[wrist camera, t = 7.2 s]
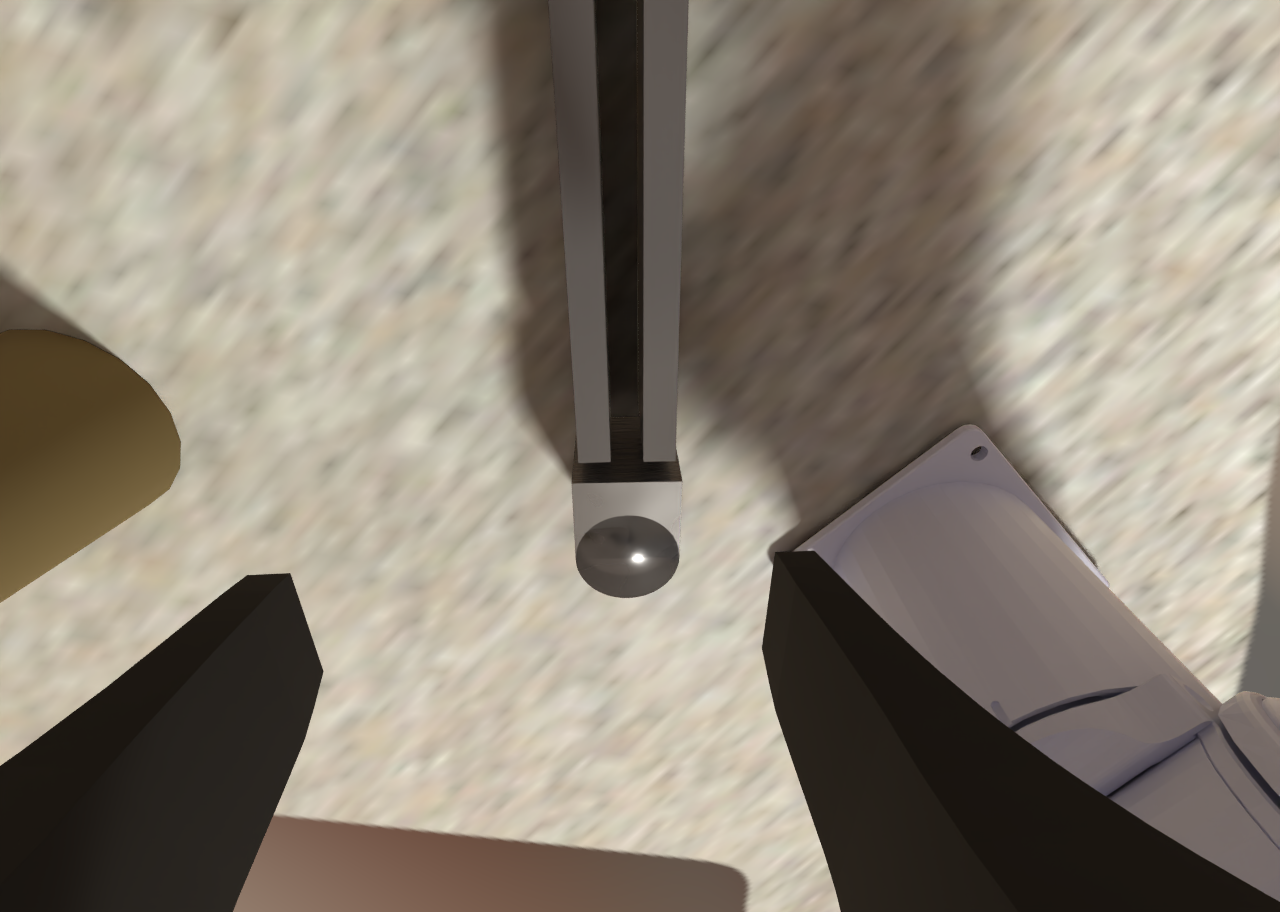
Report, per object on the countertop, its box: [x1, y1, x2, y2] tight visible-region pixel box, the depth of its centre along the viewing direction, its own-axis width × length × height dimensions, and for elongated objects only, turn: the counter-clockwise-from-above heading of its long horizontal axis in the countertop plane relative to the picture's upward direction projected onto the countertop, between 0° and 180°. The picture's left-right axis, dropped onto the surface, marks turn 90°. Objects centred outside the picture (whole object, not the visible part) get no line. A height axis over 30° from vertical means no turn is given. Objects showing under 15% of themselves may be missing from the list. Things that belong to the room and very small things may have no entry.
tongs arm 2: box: [548, 0, 611, 463], centre depth 14 cm, size 17×1×4 cm, turn 1°
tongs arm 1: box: [637, 0, 688, 462], centre depth 14 cm, size 17×1×4 cm, turn 0°
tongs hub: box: [572, 416, 682, 598], centre depth 20 cm, size 4×3×4 cm
